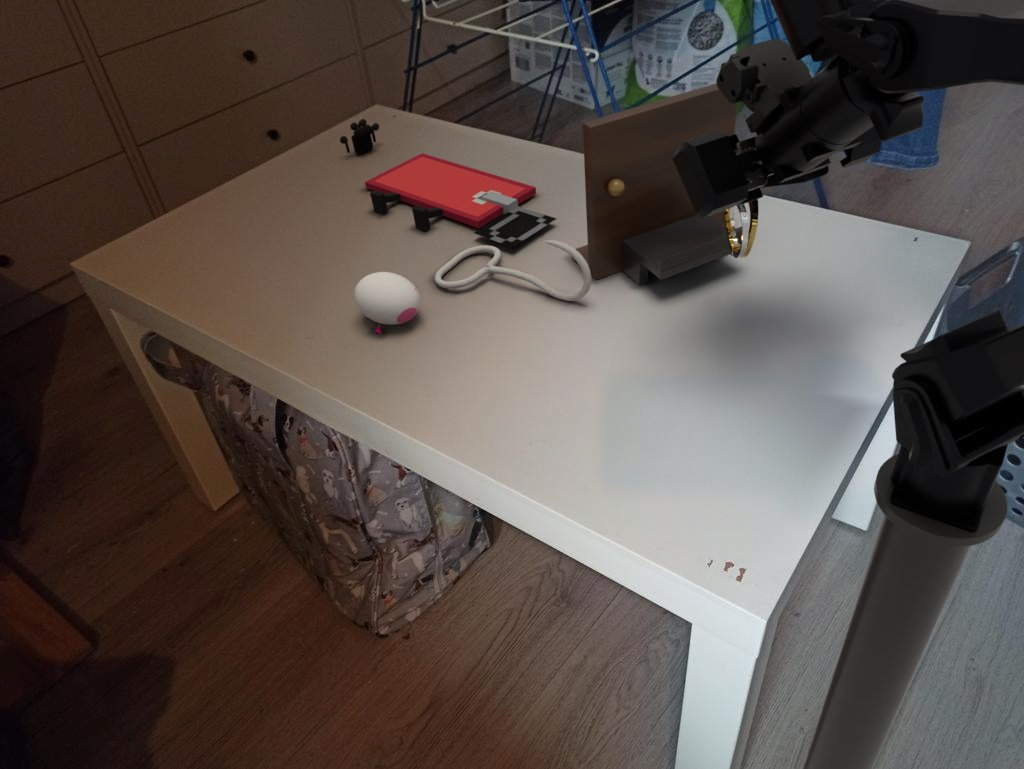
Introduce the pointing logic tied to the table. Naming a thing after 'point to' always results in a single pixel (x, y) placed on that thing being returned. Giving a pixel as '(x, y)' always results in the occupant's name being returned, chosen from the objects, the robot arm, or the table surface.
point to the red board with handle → (459, 198)
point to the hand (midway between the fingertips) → (731, 189)
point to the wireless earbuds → (361, 137)
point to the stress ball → (387, 298)
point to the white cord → (515, 271)
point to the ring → (747, 231)
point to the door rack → (650, 188)
